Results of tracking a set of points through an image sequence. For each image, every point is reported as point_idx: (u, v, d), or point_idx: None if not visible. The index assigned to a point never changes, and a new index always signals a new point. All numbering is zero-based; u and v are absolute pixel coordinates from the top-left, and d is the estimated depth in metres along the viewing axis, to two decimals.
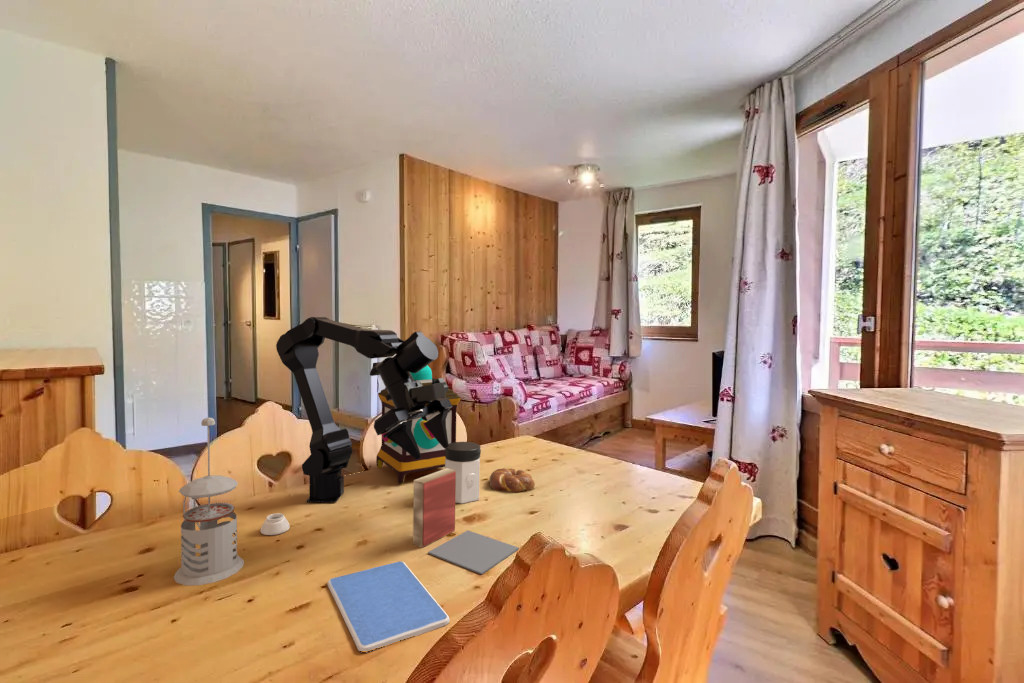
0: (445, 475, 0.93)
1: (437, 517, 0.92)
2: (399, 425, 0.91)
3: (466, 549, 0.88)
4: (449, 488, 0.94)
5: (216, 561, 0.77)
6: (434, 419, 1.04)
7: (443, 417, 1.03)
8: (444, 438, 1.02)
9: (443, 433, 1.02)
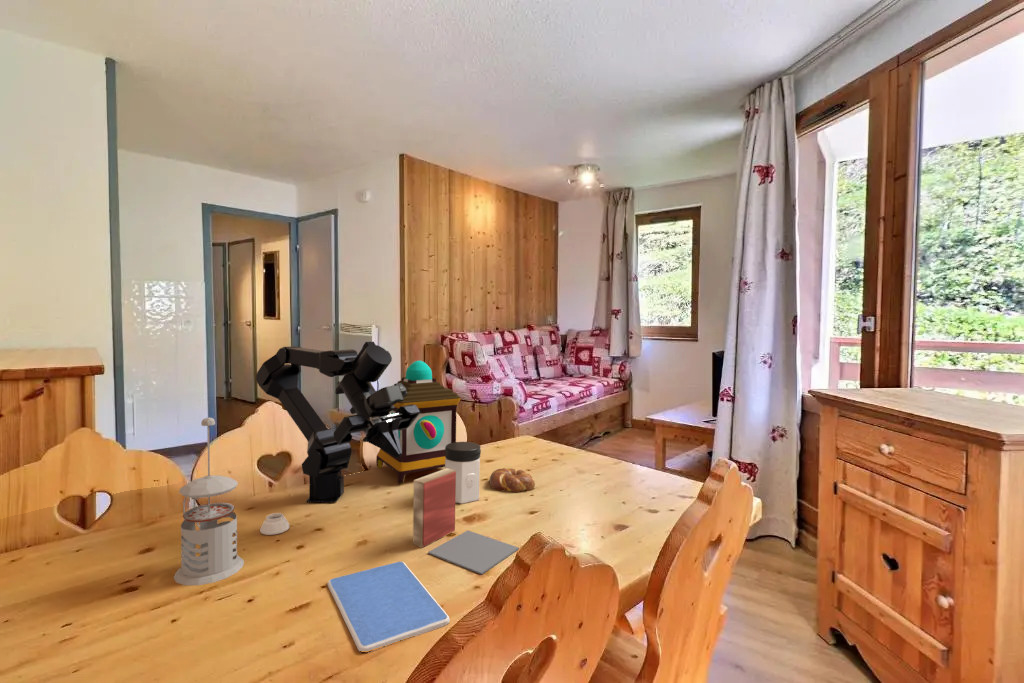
0: (445, 475, 0.93)
1: (437, 517, 0.92)
2: (373, 426, 0.97)
3: (466, 549, 0.88)
4: (449, 488, 0.94)
5: (216, 561, 0.77)
6: None
7: (393, 426, 1.00)
8: (396, 447, 0.99)
9: (395, 442, 0.99)
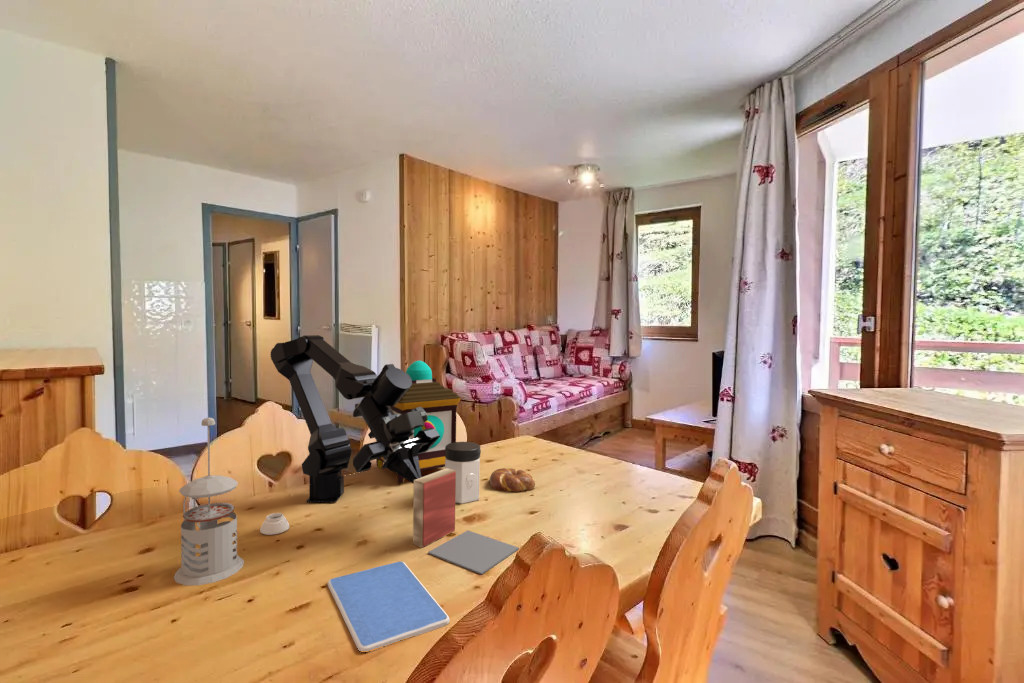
0: (445, 475, 0.93)
1: (437, 517, 0.92)
2: (393, 453, 0.94)
3: (466, 549, 0.88)
4: (449, 488, 0.94)
5: (216, 561, 0.77)
6: None
7: (413, 452, 0.97)
8: (417, 474, 0.96)
9: (415, 469, 0.96)
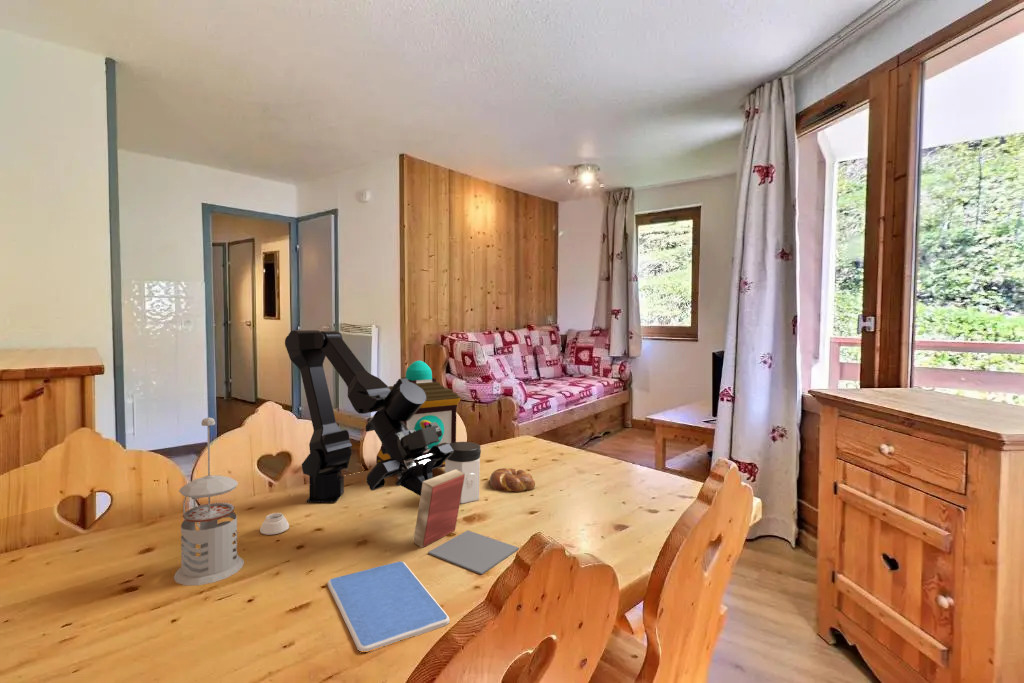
0: (454, 479, 0.92)
1: (440, 519, 0.91)
2: (408, 470, 0.92)
3: (466, 549, 0.88)
4: (456, 491, 0.93)
5: (216, 561, 0.77)
6: None
7: (428, 469, 0.95)
8: None
9: None
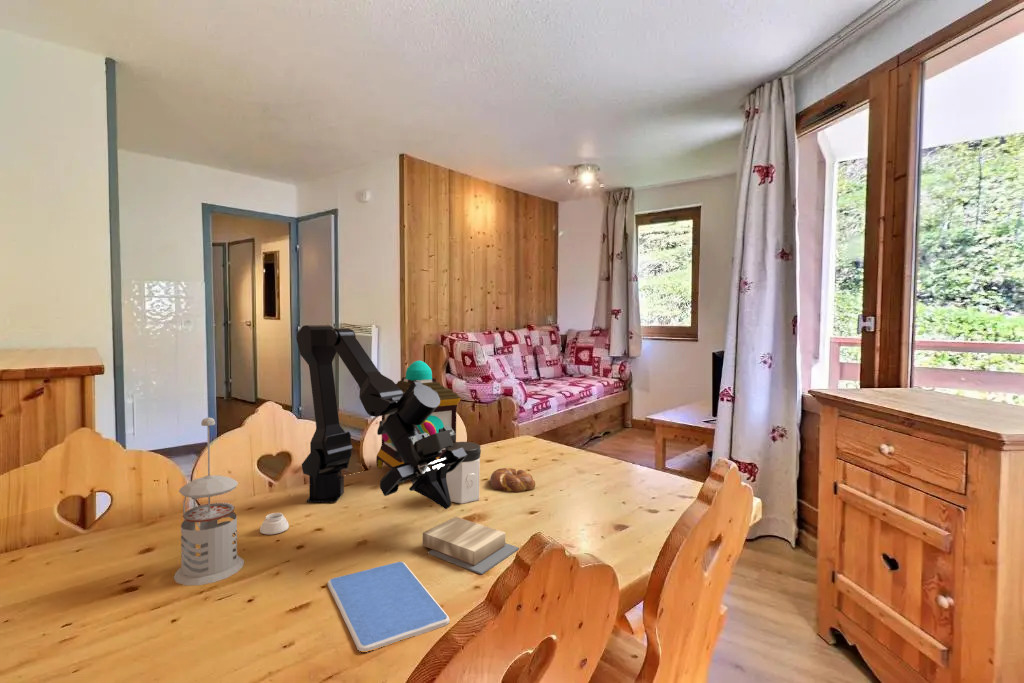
0: (494, 551, 0.87)
1: None
2: (422, 475, 0.90)
3: None
4: None
5: (216, 561, 0.77)
6: None
7: (441, 474, 0.93)
8: (445, 497, 0.91)
9: (444, 491, 0.92)
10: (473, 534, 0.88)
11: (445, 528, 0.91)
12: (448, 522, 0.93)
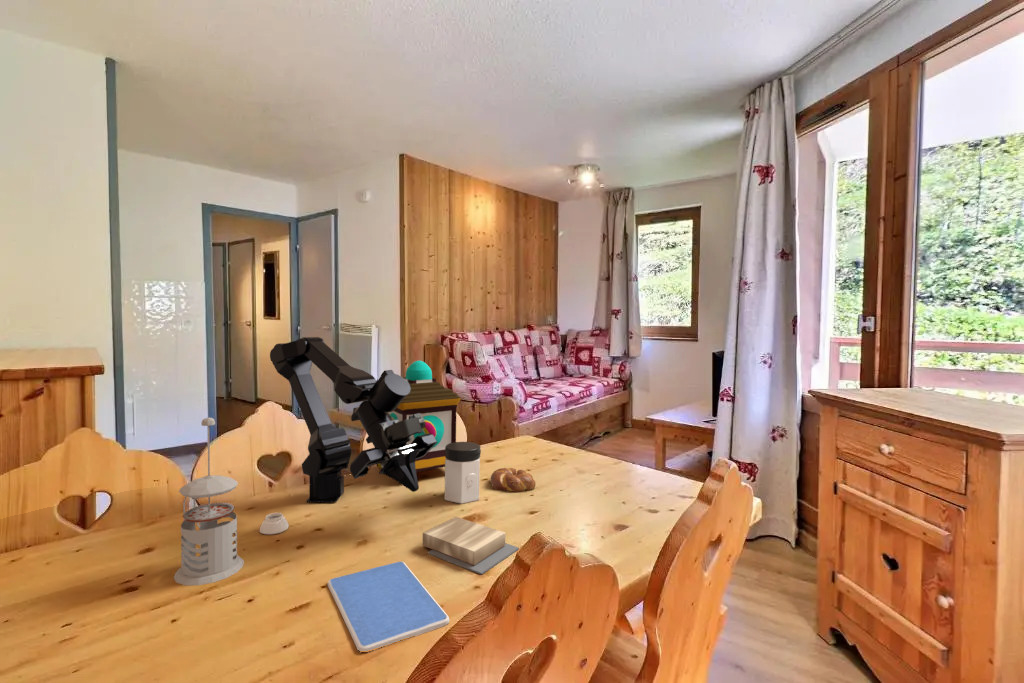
0: (494, 551, 0.87)
1: None
2: (391, 459, 0.94)
3: None
4: None
5: (216, 561, 0.77)
6: None
7: (410, 458, 0.98)
8: (413, 480, 0.96)
9: (412, 475, 0.97)
10: (473, 534, 0.88)
11: (445, 528, 0.91)
12: (448, 522, 0.93)
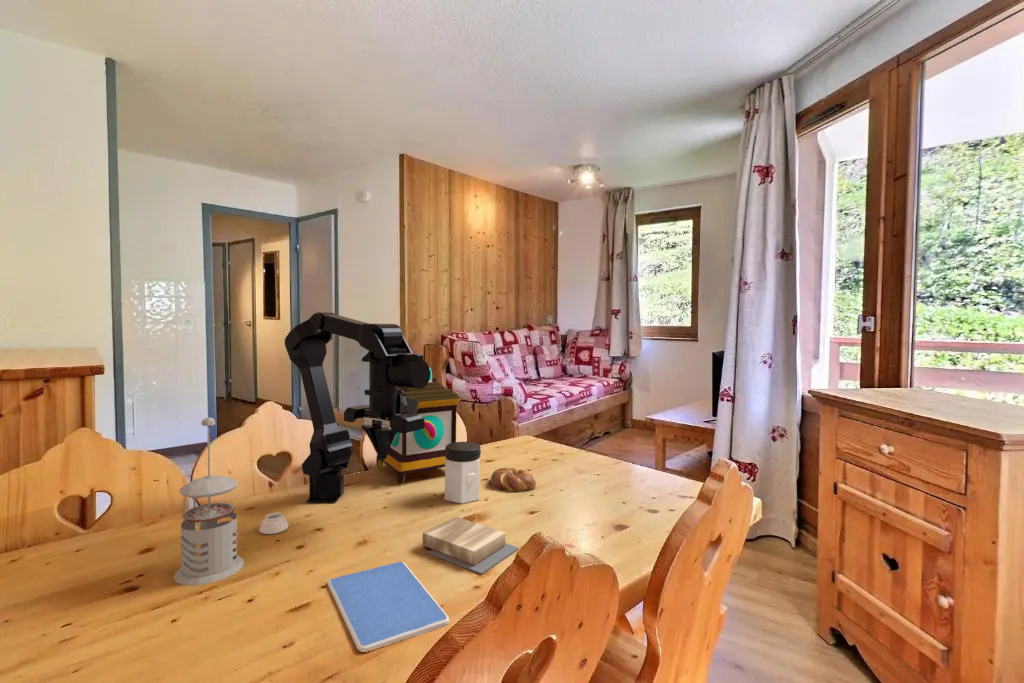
0: (494, 551, 0.87)
1: None
2: None
3: None
4: None
5: (216, 561, 0.77)
6: (381, 428, 1.02)
7: None
8: None
9: None
10: (473, 534, 0.88)
11: (445, 528, 0.91)
12: (448, 522, 0.93)
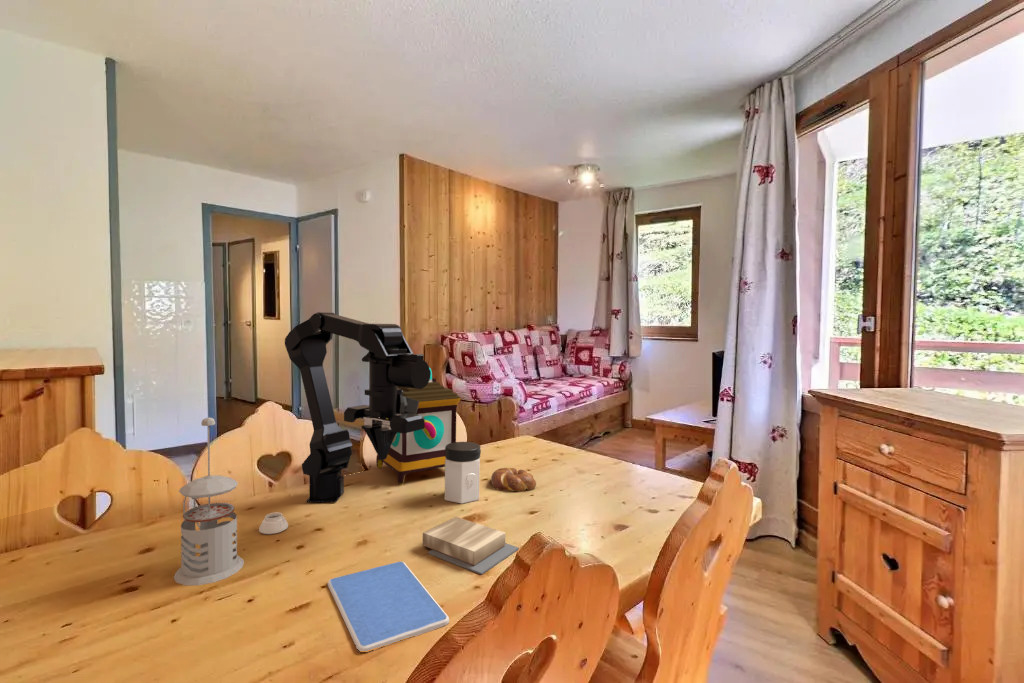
0: (494, 551, 0.87)
1: None
2: None
3: None
4: None
5: (216, 561, 0.77)
6: (381, 428, 1.02)
7: None
8: None
9: None
10: (473, 534, 0.88)
11: (445, 528, 0.91)
12: (448, 522, 0.93)
